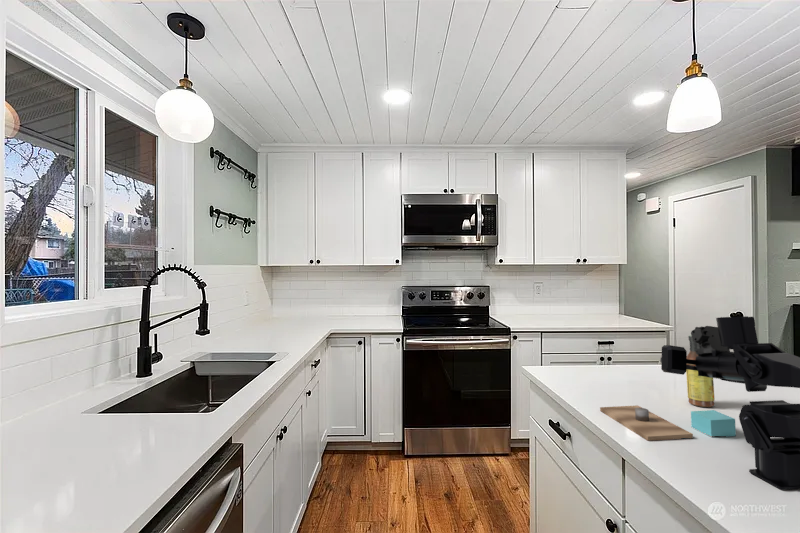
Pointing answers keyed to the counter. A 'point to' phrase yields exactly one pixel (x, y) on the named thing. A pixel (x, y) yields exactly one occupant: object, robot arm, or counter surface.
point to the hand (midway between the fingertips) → (679, 362)
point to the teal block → (713, 423)
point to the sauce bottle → (698, 382)
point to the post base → (645, 423)
